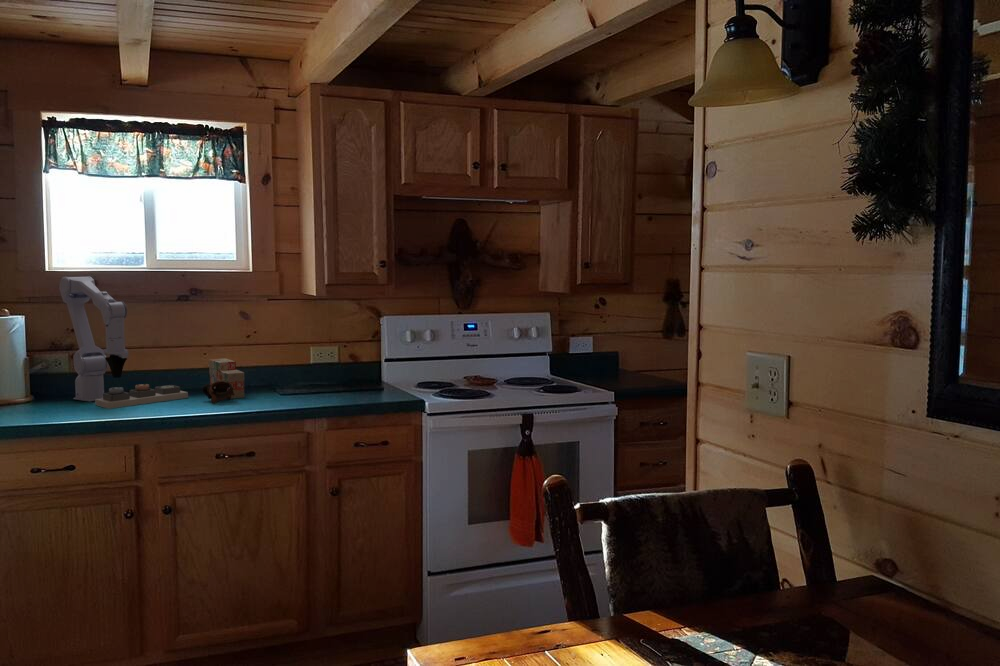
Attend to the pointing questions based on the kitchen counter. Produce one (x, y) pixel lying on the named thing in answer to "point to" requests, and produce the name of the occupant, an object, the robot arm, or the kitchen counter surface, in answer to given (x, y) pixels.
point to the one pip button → (167, 387)
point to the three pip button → (142, 387)
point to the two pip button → (116, 390)
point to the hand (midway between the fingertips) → (116, 377)
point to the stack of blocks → (227, 375)
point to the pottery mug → (218, 391)
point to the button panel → (140, 397)
